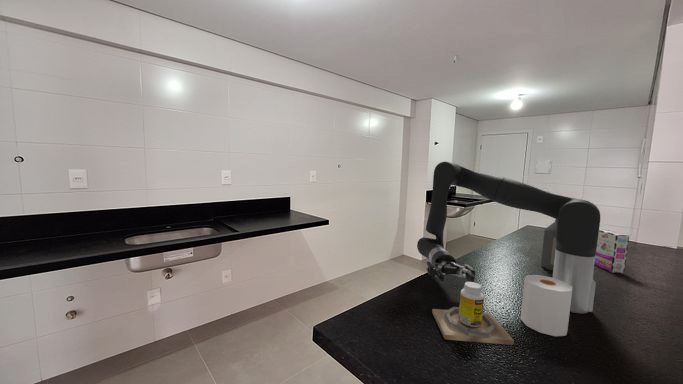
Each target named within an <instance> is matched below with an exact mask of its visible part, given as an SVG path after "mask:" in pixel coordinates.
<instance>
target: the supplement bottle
mask: <svg viewBox="0 0 683 384" xmlns="http://www.w3.org/2000/svg"><path fill="white" fill-rule="evenodd" d="M459 296H460V297H459V298H460V299H459V305H458V307H459V320H460V321H461V322H462V323H463V324H465V325H467V326H470V327H479V326H480V325H481V324H482V315H483V313H484V305H485V304H484V303H485V295H484V293H483V292H482V285H481V284H479V283H477V282H475V281H474V282H469V281H466V282H465V283H464V286H463V288H462V289H461V290H460V295H459Z"/></svg>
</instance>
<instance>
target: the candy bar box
mask: <svg viewBox="0 0 683 384" xmlns="http://www.w3.org/2000/svg"><path fill="white" fill-rule="evenodd" d="M629 241H630V235H628V234H623V233H620V232H616V231H611V230H608V229H599V234H598V242H597V249H596V256H595V264H594V266H596V267H598V268H600V269H603V270H605V271H608V272H610V273H612V274H613V273H614V274H625V269H626V262H627V255H628V247H629Z"/></svg>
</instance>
